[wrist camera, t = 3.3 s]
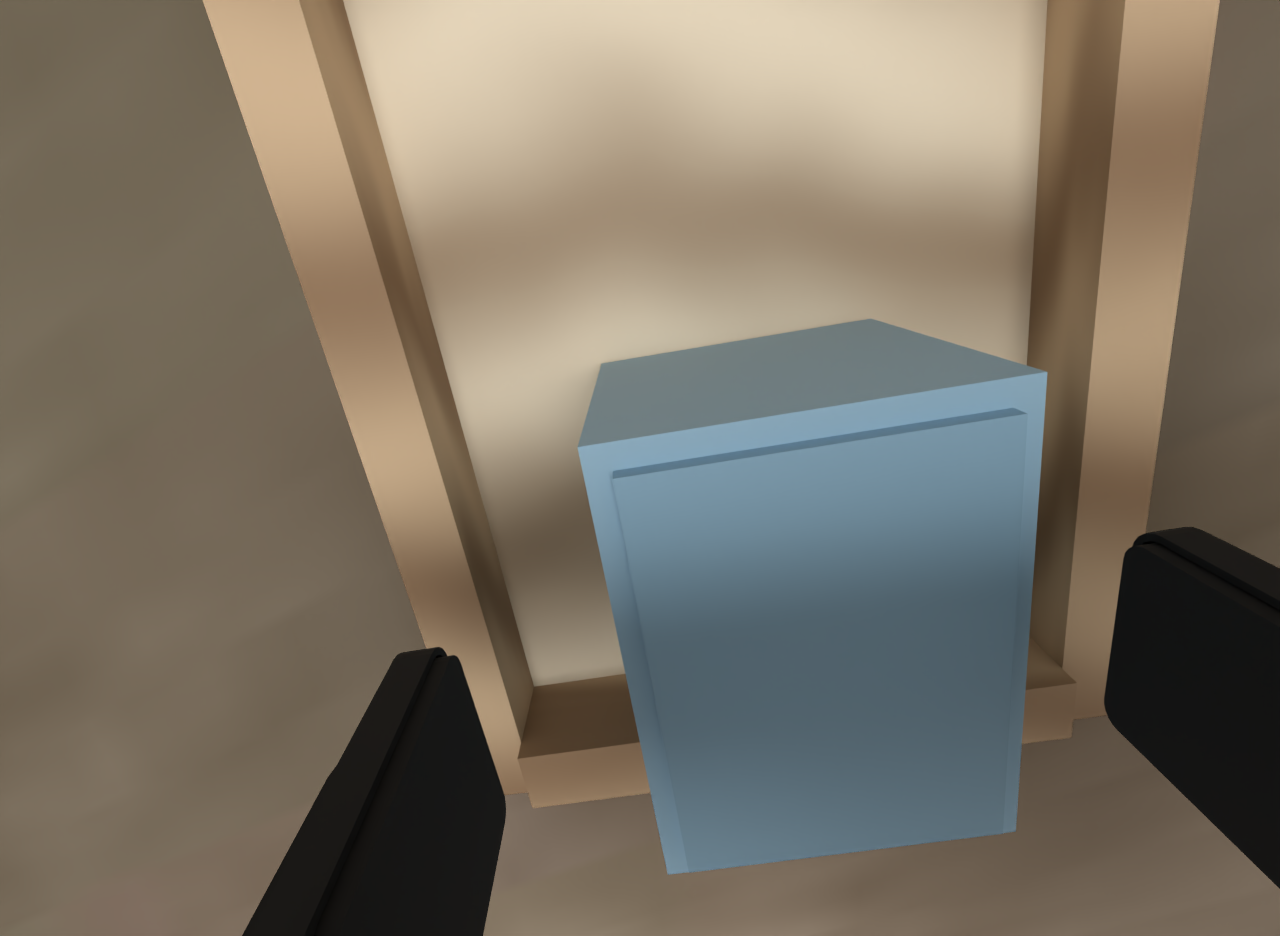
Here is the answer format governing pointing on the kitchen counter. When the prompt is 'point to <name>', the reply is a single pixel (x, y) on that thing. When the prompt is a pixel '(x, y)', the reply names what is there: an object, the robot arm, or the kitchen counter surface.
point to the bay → (713, 274)
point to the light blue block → (820, 586)
